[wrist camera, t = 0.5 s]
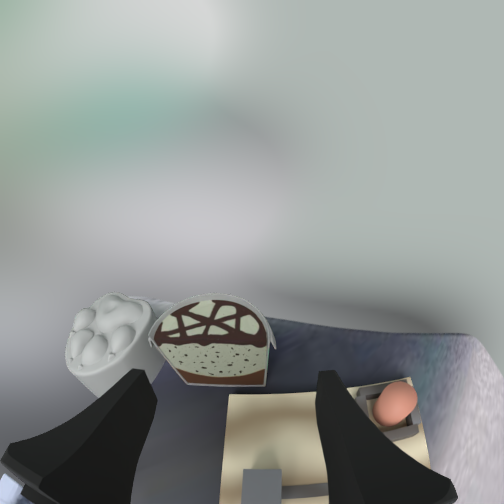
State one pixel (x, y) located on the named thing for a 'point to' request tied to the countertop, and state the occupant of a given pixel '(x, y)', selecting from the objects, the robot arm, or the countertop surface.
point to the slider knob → (262, 486)
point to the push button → (394, 404)
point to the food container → (215, 341)
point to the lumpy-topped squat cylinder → (112, 342)
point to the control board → (298, 441)
